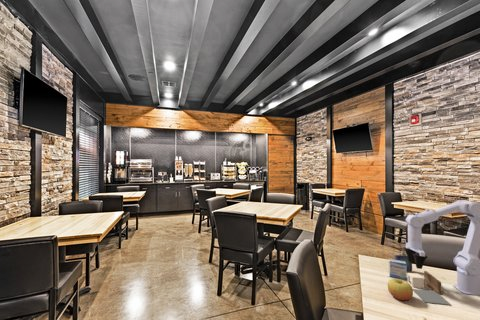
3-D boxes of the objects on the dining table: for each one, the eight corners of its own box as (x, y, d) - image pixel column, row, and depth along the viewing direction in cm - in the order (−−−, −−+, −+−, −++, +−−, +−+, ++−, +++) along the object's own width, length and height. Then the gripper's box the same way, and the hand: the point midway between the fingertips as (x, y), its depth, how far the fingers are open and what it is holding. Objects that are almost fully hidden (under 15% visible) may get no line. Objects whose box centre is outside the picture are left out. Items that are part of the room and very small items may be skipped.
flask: (395, 270, 136) (394, 251, 136) (393, 268, 139) (392, 250, 139) (413, 271, 134) (412, 253, 134) (410, 269, 136) (410, 251, 137)
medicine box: (389, 277, 128) (389, 261, 128) (388, 273, 132) (388, 258, 132) (407, 280, 124) (406, 263, 124) (405, 276, 128) (405, 260, 128)
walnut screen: (428, 281, 123) (427, 270, 123) (444, 294, 110) (444, 283, 110) (421, 280, 123) (421, 270, 123) (437, 294, 110) (436, 282, 111)
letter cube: (418, 283, 121) (418, 273, 121) (423, 288, 116) (423, 278, 116) (407, 282, 122) (407, 272, 122) (412, 287, 117) (412, 277, 117)
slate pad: (435, 292, 112) (435, 291, 112) (451, 305, 102) (451, 304, 102) (412, 289, 114) (412, 288, 114) (425, 302, 104) (425, 301, 104)
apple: (412, 306, 101) (411, 287, 101) (386, 298, 107) (385, 280, 108) (414, 296, 108) (413, 279, 109) (389, 289, 115) (389, 273, 115)
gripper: (399, 234, 127) (399, 258, 127) (413, 242, 113) (413, 270, 113) (413, 234, 126) (414, 260, 126) (429, 243, 112) (430, 272, 111)
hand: (415, 265), depth 119 cm, fingers open, 7 cm apart
